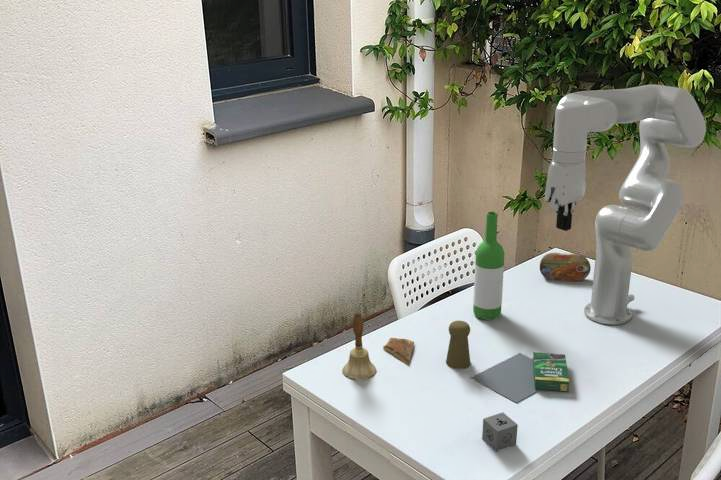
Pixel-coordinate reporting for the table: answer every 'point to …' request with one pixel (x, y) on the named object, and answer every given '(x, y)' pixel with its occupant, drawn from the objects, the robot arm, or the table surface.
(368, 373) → the hand bell
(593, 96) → the robot arm
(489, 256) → the wine bottle
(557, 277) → the tin
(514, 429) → the dice cube
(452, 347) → the cork
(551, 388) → the coffee box
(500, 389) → the slate mat
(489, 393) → the table surface
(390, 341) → the shard
